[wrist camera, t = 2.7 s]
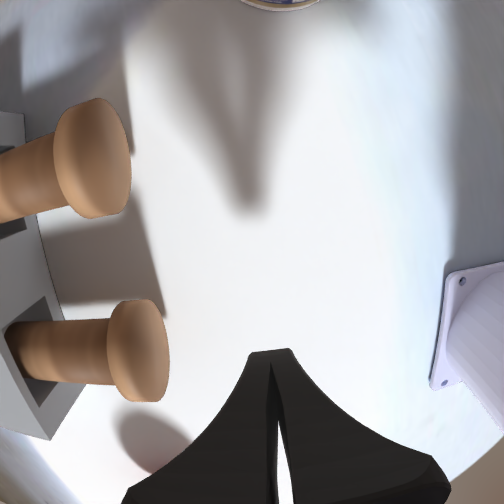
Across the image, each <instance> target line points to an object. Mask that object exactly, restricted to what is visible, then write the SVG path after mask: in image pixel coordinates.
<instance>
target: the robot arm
mask: <svg viewBox="0 0 504 504" xmlns="http://www.w3.org/2000/svg"><path fill="white" fill-rule="evenodd" d="M461 278H462V281H461V282H460V283H459V281H460V279H461ZM460 382H464V384H465V385H466V386H467V387H468V389H469V390H470V391H471V392H472V394H473V395H474V396H475V397H476V399H477V400H478V401H479V403H480V404H481V405H482V406H483V408H484V409H485V410H486V412H487V413H488V414H489V415H490V417H491V418H492V419H493V421H494V422H495V423H496V425H497V426H498V427H499V429H500V430H501V431H502V433H503V434H504V261H503V262H499V263H494V264H490V265H485V266H480V267H476V268H471V269H466V270H461V271H456V272H452V273H450V274H449V275H448V277H447V278H446V282H445V292H444V302H443V310H442V318H441V325H440V331H439V338H438V344H437V349H436V355H435V360H434V365H433V370H432V375H431V379H430V384H429V386H430V388H431V389H432V390H433V391H436V390H440V389H443V388H446V387H448V386H451V385H454V384H457V383H460ZM278 421H279V426H280V431H281V435H282V440H283V444H284V449H285V453H286V458H287V462H288V467H289V471H290V477H291V484H292V493H293V503H294V504H444V503H445V502H446V500H447V499H448V496H449V494H450V492H451V485H450V483H449V481H448V479H447V477H446V475H445V473H444V472H443V471H442V469H441V468H440V466H439V465H438V464H437V462H436V461H435V460H434V458H433V457H432V456H431V455H428V454H425V453H422V452H419V451H416V450H414V449H411V448H408V447H405V446H402V445H400V444H398V443H395V442H393V441H391V440H389V439H387V438H385V437H383V436H381V435H380V434H378V433H376V432H374V431H373V430H371V429H369V428H368V427H366V426H364V425H363V424H361V423H360V422H358V421H357V420H355V419H354V418H353V417H351V416H350V415H348V414H347V413H346V412H345V411H343V410H342V409H341V408H340V407H338V406H337V405H336V404H335V403H334V402H333V401H332V400H331V399H330V398H329V397H328V396H327V395H326V394H325V393H324V392H323V391H322V390H321V389H320V388H319V387H318V386H317V385H316V384H315V383H314V382H313V380H312V379H311V378H310V377H309V376H308V375H307V373H306V372H305V371H304V369H303V368H302V367H301V365H300V364H299V362H298V361H297V359H296V358H295V356H294V354H293V352H292V350H290V349H289V348H284V349H277V350H268V351H260V352H252V353H251V354H250V355H249V356H248V360H247V362H246V365H245V367H244V370H243V372H242V374H241V376H240V378H239V380H238V382H237V384H236V386H235V388H234V389H233V391H232V393H231V395H230V396H229V398H228V399H227V401H226V402H225V404H224V405H223V407H222V408H221V410H220V411H219V413H218V414H217V415H216V417H215V418H214V419H213V421H212V422H211V423H210V424H209V425H208V426H207V428H206V429H205V430H204V431H203V432H202V433H201V434H200V435H199V436H198V437H197V438H196V439H195V440H194V442H193V443H192V444H190V445H189V446H188V447H187V448H186V449H185V450H184V451H183V452H182V453H180V454H179V455H178V456H177V457H175V458H174V459H173V460H172V461H170V462H169V463H168V464H167V465H165V466H164V467H163V468H161V469H160V470H158V471H157V472H155V473H154V474H152V475H151V476H149V477H147V478H145V479H144V480H142V481H140V482H139V483H137V484H135V485H133V486H131V487H129V488H128V490H127V492H126V495H125V496H124V498H123V500H122V502H121V504H279V497H278V485H277V455H278Z"/></svg>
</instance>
